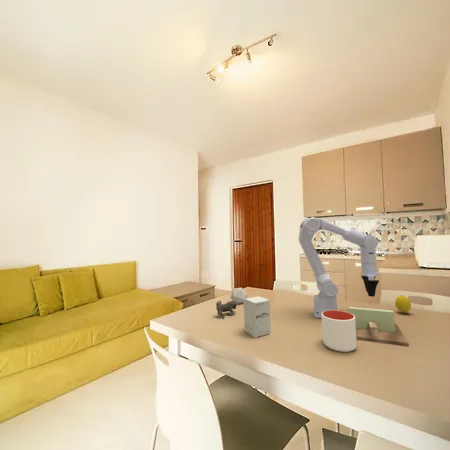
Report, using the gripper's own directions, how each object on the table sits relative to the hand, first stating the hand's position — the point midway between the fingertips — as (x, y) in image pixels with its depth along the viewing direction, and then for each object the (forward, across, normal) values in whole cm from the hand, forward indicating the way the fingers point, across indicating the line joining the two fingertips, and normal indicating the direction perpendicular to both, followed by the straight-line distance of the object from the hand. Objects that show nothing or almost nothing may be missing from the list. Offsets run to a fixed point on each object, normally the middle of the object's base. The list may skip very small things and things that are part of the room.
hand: (370, 294), depth 104 cm
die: (+10, +1, +62) cm, 63 cm away
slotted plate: (+8, -18, +2) cm, 20 cm away
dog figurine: (+10, -19, +60) cm, 63 cm away
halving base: (+9, -18, +2) cm, 20 cm away
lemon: (+10, +8, -13) cm, 18 cm away
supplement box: (+10, -33, +41) cm, 53 cm away
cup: (+10, -34, +13) cm, 38 cm away
